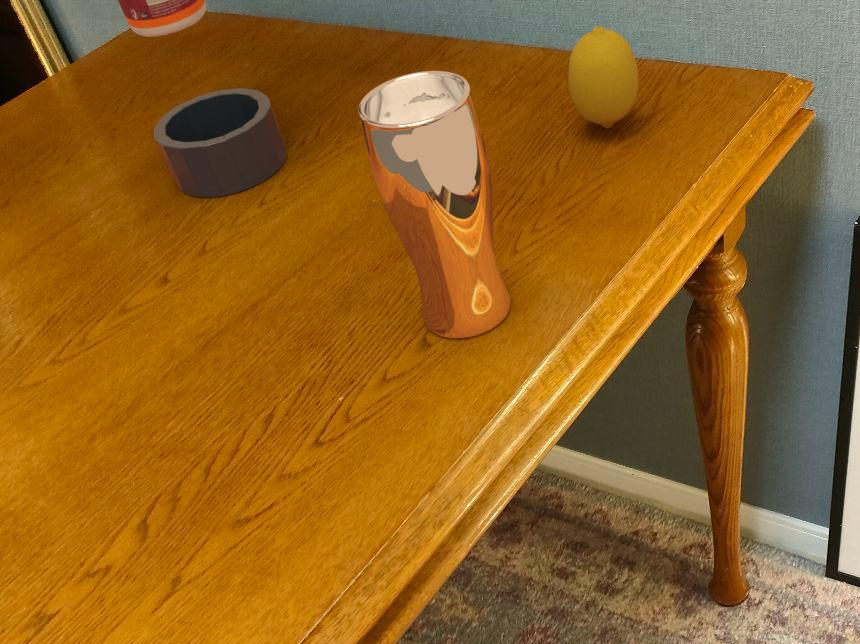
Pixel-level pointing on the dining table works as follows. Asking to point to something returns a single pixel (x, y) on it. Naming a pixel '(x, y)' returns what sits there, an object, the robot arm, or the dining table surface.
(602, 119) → the lemon
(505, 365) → the dining table surface
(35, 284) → the dining table surface
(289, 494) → the dining table surface
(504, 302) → the beer glass
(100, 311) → the dining table surface
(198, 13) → the pill bottle
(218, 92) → the holder
